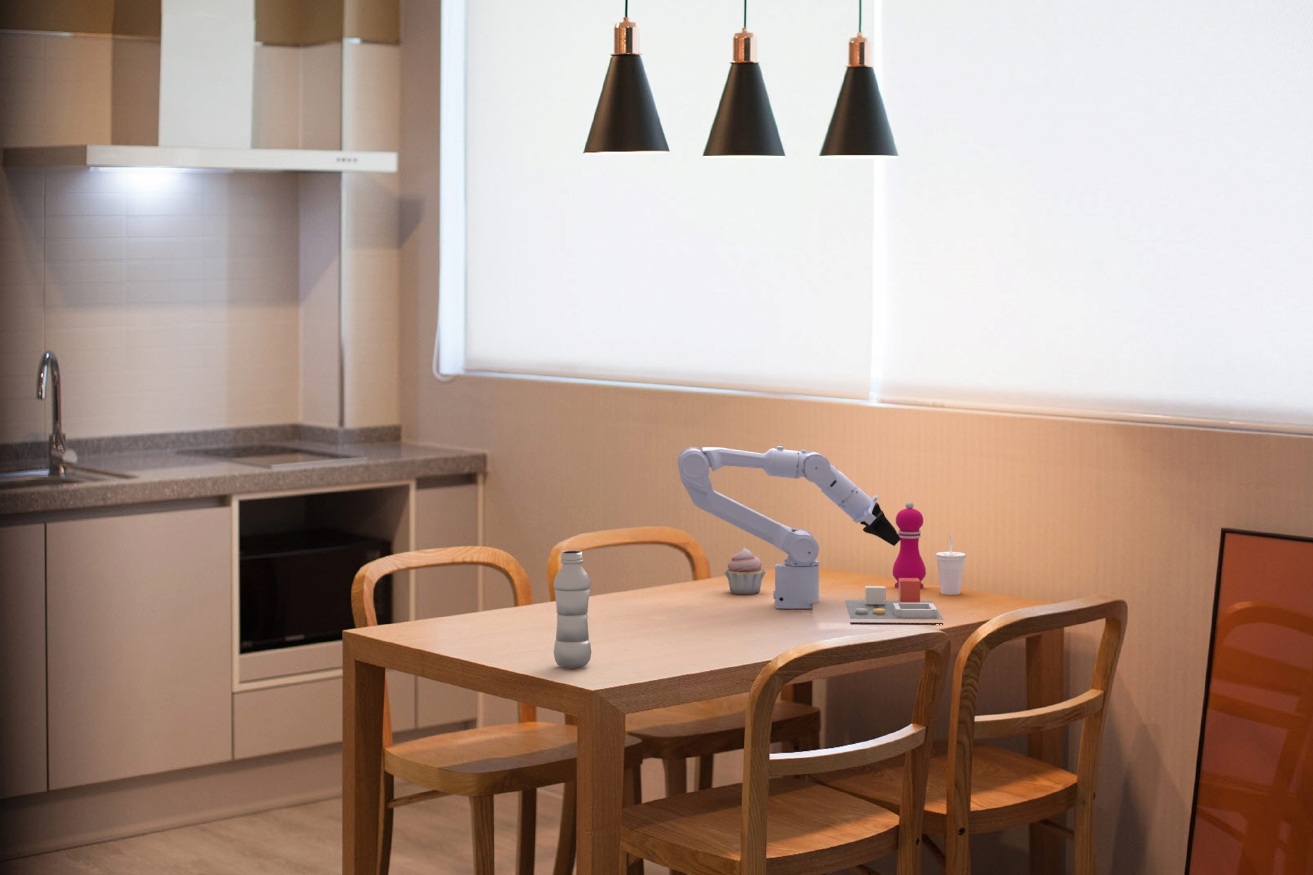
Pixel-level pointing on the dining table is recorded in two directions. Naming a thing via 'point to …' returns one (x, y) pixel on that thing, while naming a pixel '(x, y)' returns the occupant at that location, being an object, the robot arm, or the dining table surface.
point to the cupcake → (745, 573)
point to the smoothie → (950, 570)
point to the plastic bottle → (572, 612)
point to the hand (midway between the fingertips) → (895, 538)
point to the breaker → (875, 595)
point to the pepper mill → (909, 545)
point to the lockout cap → (909, 590)
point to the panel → (892, 612)
